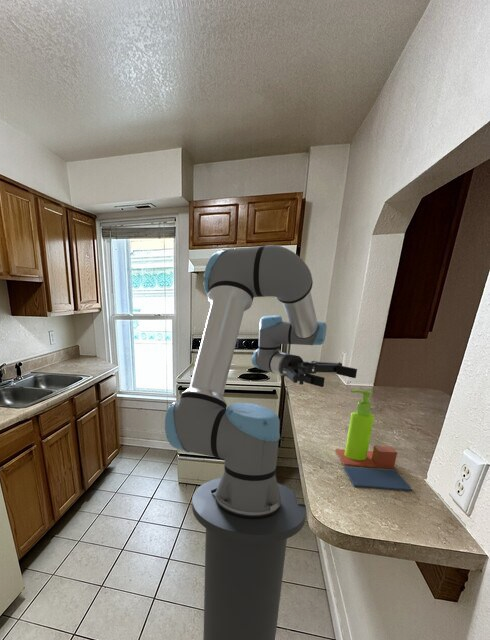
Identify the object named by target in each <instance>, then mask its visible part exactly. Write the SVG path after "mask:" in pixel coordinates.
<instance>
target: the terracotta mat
mask: <svg viewBox="0 0 490 640" xmlns="http://www.w3.org/2000/svg"><path fill="white" fill-rule="evenodd" d="M335 452H336V454H337V455H338V457H339V459H340V461H341V462H342V464H343V466H348V467H363V468H377V469H392V470H395V466H394V467H382V466H376V465H375V464H374V462H373V461H372V460H371V459H372V454H373V450H368V452H367V457H366V459H364V460H354V459H350V458H348V457H346V456H345V455H344V454H345V449H341V448H340V449H339V448H338V449H337V448H336V449H335Z"/></svg>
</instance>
